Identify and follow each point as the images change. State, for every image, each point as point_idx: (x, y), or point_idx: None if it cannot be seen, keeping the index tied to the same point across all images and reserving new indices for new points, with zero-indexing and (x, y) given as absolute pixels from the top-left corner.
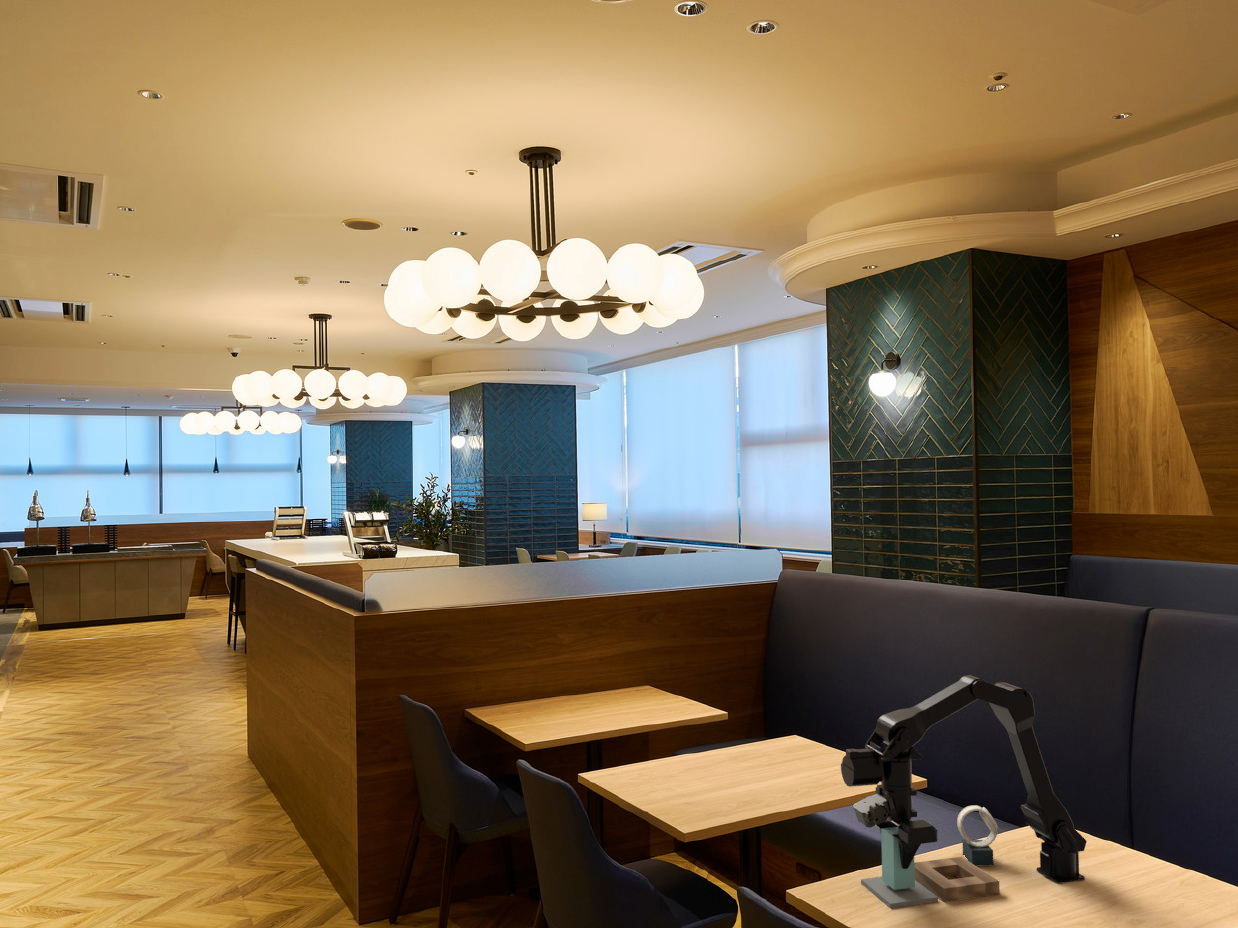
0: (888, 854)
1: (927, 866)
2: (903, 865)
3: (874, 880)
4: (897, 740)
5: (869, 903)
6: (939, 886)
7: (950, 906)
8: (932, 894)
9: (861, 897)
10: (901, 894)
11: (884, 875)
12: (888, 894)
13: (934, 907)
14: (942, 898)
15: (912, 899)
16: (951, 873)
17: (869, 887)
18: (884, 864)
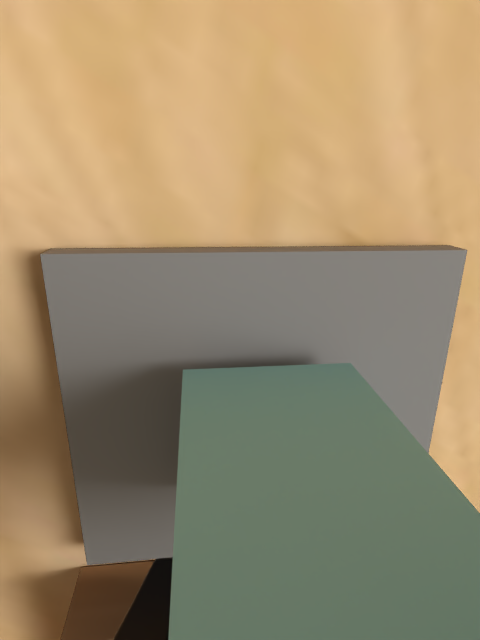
0: (326, 575)
1: None
2: (136, 594)
3: (410, 330)
4: None
5: (151, 133)
6: (113, 629)
7: (23, 571)
8: (126, 552)
9: (258, 127)
10: (168, 395)
11: (333, 386)
12: (190, 316)
13: (21, 498)
14: (96, 575)
15: (80, 426)
16: None
17: (344, 250)
18: (367, 442)
